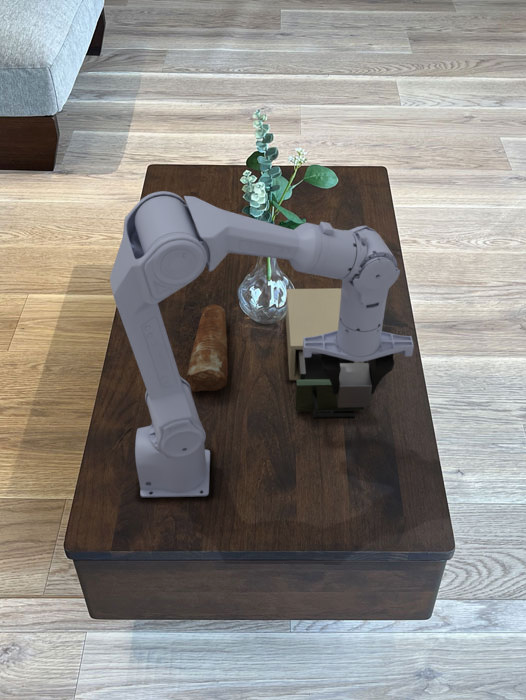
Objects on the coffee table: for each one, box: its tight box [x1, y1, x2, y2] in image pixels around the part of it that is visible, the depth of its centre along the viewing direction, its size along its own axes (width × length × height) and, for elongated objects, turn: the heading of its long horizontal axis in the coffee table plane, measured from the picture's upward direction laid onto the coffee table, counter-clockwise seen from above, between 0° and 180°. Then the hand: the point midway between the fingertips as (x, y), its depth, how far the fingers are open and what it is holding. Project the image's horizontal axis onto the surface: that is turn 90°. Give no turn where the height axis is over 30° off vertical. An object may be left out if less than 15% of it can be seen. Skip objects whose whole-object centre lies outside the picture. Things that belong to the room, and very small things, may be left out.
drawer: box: [294, 349, 365, 420], centre depth 122 cm, size 17×10×6 cm, turn 1°
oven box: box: [285, 287, 365, 381], centre depth 129 cm, size 14×12×8 cm
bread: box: [185, 304, 229, 393], centre depth 129 cm, size 6×19×6 cm, turn 177°
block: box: [336, 362, 372, 408], centre depth 111 cm, size 4×4×4 cm
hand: (352, 389), depth 112 cm, fingers closed on block, 4 cm apart
